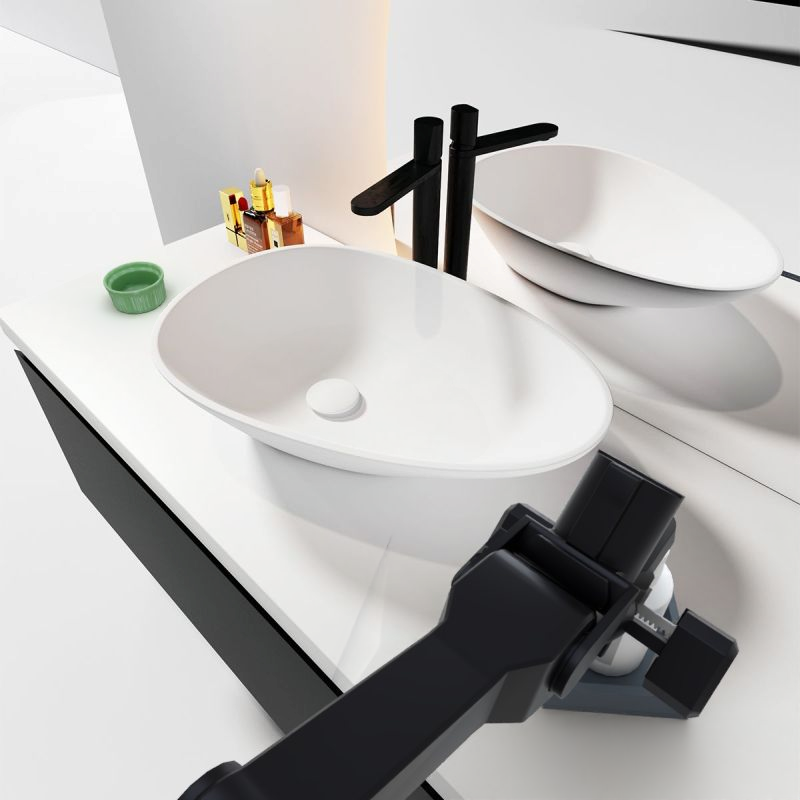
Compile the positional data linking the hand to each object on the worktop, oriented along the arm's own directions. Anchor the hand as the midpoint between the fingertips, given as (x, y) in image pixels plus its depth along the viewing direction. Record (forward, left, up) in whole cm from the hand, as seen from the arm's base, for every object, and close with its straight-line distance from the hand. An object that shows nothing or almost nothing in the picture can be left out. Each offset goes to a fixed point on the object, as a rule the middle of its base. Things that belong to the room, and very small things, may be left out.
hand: (622, 593), depth 59 cm
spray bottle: (0, 0, -9) cm, 9 cm away
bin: (0, 0, -10) cm, 10 cm away
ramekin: (+54, +65, -10) cm, 85 cm away
